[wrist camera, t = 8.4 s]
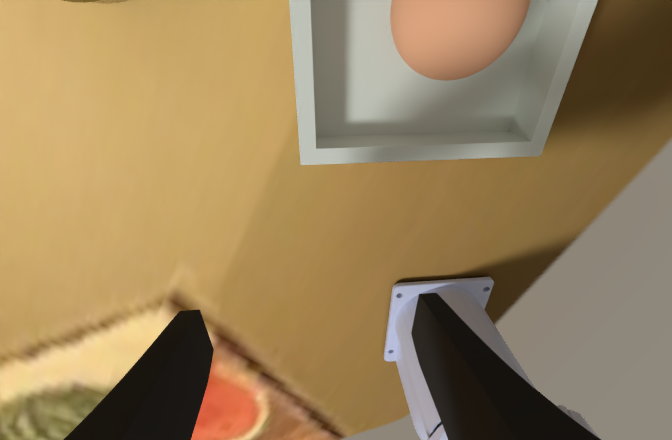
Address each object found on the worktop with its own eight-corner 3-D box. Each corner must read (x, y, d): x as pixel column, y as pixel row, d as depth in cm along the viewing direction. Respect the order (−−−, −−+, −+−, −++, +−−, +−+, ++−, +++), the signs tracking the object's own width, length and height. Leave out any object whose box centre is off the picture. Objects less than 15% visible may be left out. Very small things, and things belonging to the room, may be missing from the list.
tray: (512, 141, 18) (540, 155, 16) (301, 148, 17) (300, 165, 15) (614, -189, 11) (685, -238, 9) (277, -207, 10) (270, -266, 8)
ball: (463, 75, 16) (534, 89, 11) (369, 73, 15) (409, 86, 10) (492, -53, 13) (599, -97, 9) (381, -65, 12) (440, -120, 8)
